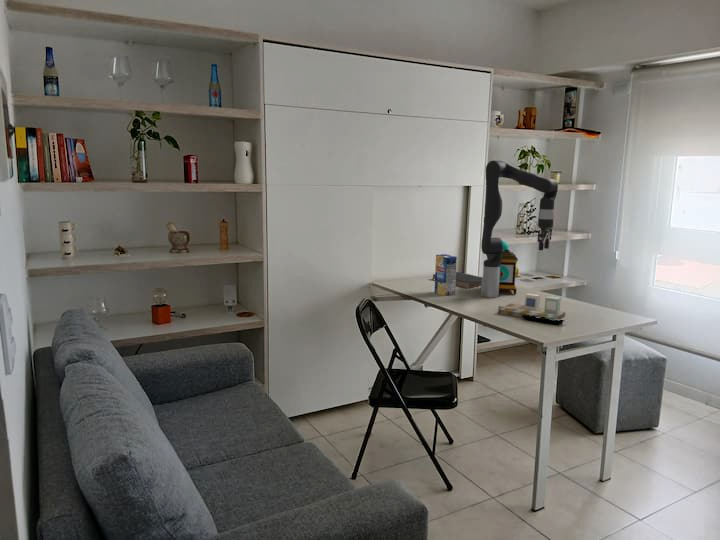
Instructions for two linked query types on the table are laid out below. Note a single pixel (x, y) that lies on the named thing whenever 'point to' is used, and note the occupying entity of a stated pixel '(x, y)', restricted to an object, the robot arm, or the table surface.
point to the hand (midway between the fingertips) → (543, 249)
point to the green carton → (552, 305)
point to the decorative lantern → (507, 269)
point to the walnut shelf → (526, 311)
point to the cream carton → (532, 302)
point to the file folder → (467, 280)
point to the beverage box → (445, 274)
